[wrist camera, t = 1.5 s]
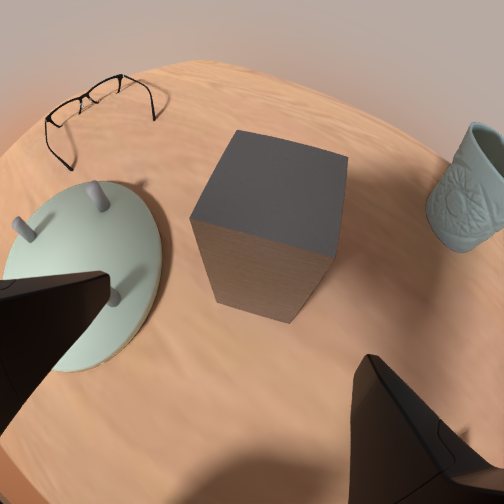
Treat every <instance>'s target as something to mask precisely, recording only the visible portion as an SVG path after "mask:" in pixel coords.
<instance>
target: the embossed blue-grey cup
mask: <svg viewBox="0 0 504 504" xmlns="http://www.w3.org/2000/svg"><path fill="white" fill-rule="evenodd" d="M426 215H427V219H428V221H429V224H430V226H431V228H432V230H433V231H434V233H435V234H436V236H437V237H438V238H439V239H440V241H441V242H442V243H443V244H444V245H445V246H447V247H448V248H450V249H451V250H453V251H455V252H458V253H466V252H468V251H471V250H472V249H473V248H475V247H476V246H478V245H479V244H481V243H482V242H484V241H486V240H487V239H489V238H490V237H491V236H493V235H494V233H495V232H498V231H500V230H501V229H503V228H504V137H503V136H502V135H500V134H499V133H498V132H497V131H495V130H494V129H492V128H491V127H489V126H487V125H485V124H483V123H480V122H479V123H477V122H473V123H471V125H470V126H469V128H468V130H467V132H466V135H465V137H464V139H463V141H462V143H461V144H460V146H459V149H458V150H457V152H456V153H455V155H454V158H453V162H452V164H450V166H449V167H448V168H447V170H446V172H445V174H444V176H443V178H442V179H441V180H440V181H439V182H438V183H437V184H436V186H435V187H434V189H433V191H432V192H431V194H430V195H429V197H428V199H427V202H426Z"/></svg>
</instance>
